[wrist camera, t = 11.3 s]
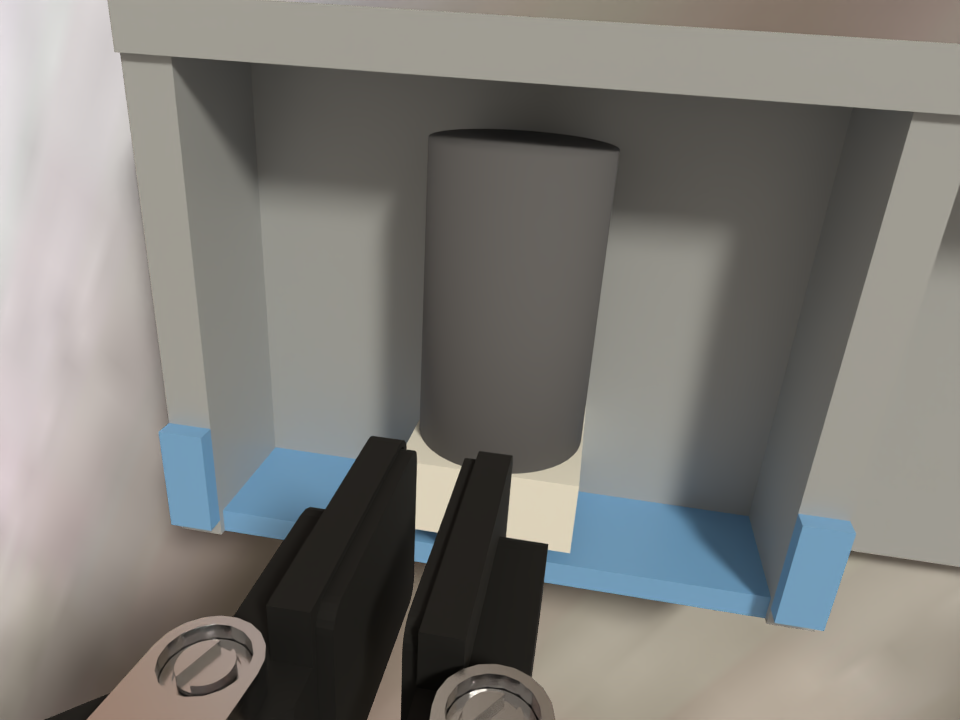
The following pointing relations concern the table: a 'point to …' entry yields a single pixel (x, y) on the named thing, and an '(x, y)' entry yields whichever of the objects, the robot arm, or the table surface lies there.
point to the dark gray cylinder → (511, 317)
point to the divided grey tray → (625, 286)
